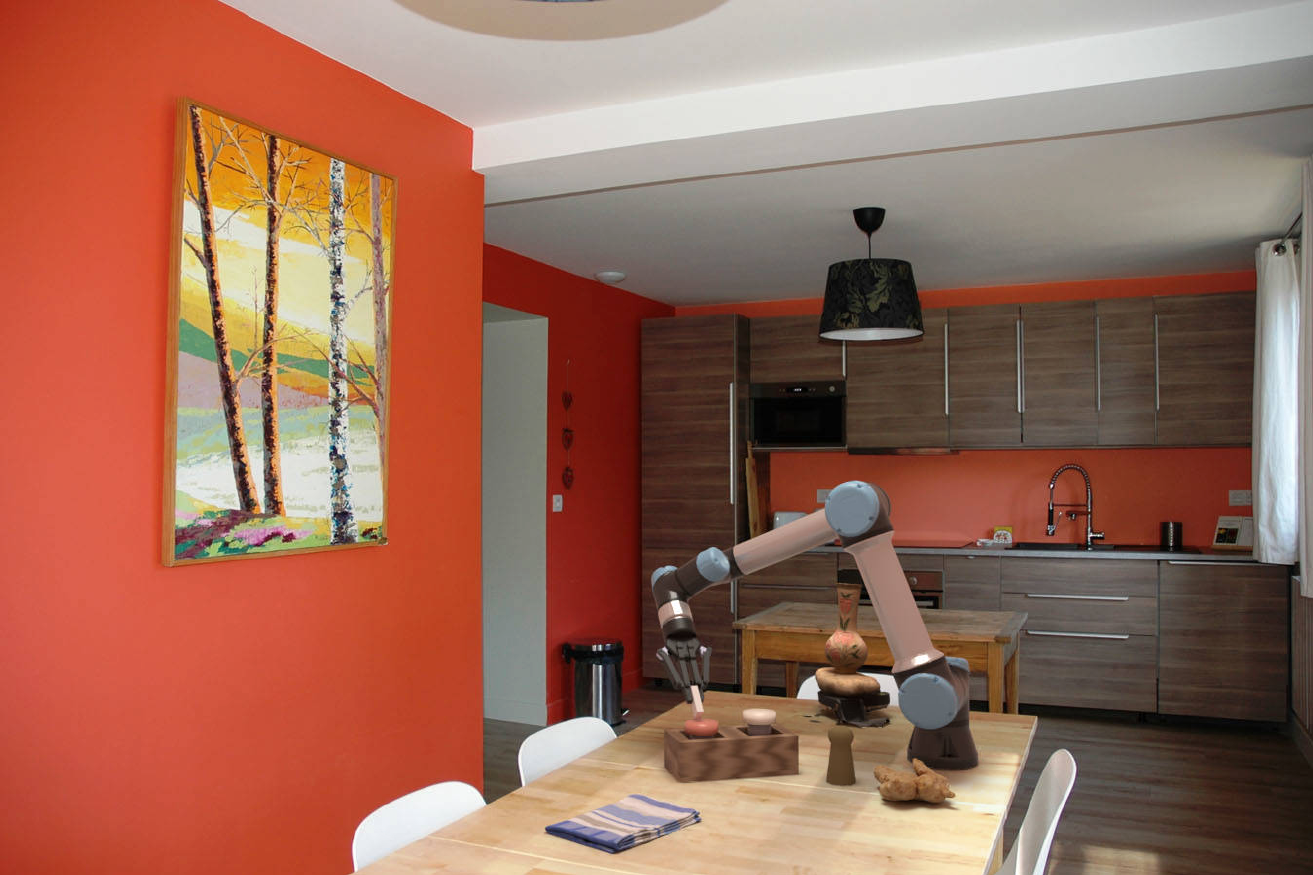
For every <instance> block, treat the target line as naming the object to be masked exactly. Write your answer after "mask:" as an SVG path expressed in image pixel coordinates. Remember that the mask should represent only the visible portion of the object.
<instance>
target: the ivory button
mask: <svg viewBox="0 0 1313 875" xmlns="http://www.w3.org/2000/svg"><path fill="white" fill-rule="evenodd" d="M742 723H745V724H746V725H748V736H762V735H771V724H774V723H777V712H776V711H775V710H772V709H767V708H747V709H744V710H743V711H742Z"/></svg>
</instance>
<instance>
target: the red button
mask: <svg viewBox="0 0 1313 875" xmlns="http://www.w3.org/2000/svg"><path fill="white" fill-rule="evenodd" d="M684 722H685V723H684V728H685V732H686V733H687V734H690V740H695V739H712V738H714V735H715V734H717V733H718V726H719V721H718V720H715V719H711V718H701V719H694V718H693V719H692V718H691V719H688V720H685V721H684Z"/></svg>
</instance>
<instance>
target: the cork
mask: <svg viewBox="0 0 1313 875" xmlns="http://www.w3.org/2000/svg"><path fill="white" fill-rule="evenodd" d="M827 738H828V741H829V742H830V748H829V755H828V764H827V771H826V778H825V779H826V780H825V782H826V783H827V782H828V783H827V784H829V783H830V785H834V786H839V785H840V787H843V786H845V787H846V785H849V786H853V784H854V785H855V784H856V783H857V782H856V781H857V780H856V775H855V774H856V772H855V764H854V757H853V750H852V744H853V742H854V739H855V737H854V732H853V730H852V729H851V728H850V727H847V726H842V725H840V726H838V725H837V726H832V727H830V728H829V730H828V732H827Z"/></svg>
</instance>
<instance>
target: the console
mask: <svg viewBox="0 0 1313 875" xmlns="http://www.w3.org/2000/svg"><path fill="white" fill-rule="evenodd" d="M663 733H664V734H663V737H664V739H663V740H664V741H663V742H664V743H663V755H664V756H663V757H664V758H663V768H664V769H665V770H667V772H668V773H669V774H670V775H671V776H673V777H674V778H675V779H676V780H677V781H678V782H679V781H680V782H684V783H690V782H689V781H698V782H707V781H708V782H710V781H723V780H725V781H726V780H735V779H738V780H739V779H750V778H762V777H763V778H764V777H779V776H780V777H781V776H795V775H799V771H800V769H799V767H800V766H799V765H800V764H799V760H800V758H799V755H800V754H799V747H800V746H799V745H800V743H799V734H796V733H795V732H793V731H791V730H789V728H787V727H784V726H783V725H781V724H779V723H777V722H776V723H774V724H771V735H762V736H748V724H739V725H724V726H723V725H721V726H719V725H718V733H717V734H715V735H714V738H712V739H695V740H690V734H687V733H686V732H685V727H684V728H668V729H664V732H663ZM680 782H679V783H680Z"/></svg>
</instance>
